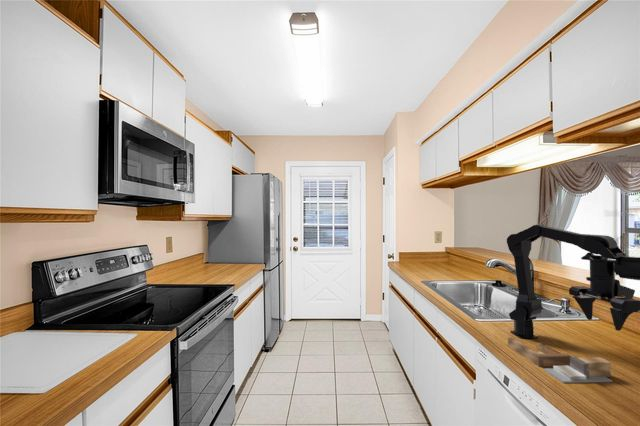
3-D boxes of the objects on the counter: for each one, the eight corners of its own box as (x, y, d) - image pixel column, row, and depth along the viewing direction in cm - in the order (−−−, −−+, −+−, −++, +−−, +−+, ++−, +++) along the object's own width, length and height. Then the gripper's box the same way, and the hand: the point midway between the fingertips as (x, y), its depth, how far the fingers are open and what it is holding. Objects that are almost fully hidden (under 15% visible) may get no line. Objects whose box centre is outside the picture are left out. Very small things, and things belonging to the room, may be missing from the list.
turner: (595, 368, 89) (595, 355, 89) (616, 379, 83) (615, 365, 83) (553, 369, 89) (553, 355, 89) (570, 380, 83) (570, 365, 83)
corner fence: (508, 345, 106) (507, 337, 106) (537, 345, 106) (536, 337, 106) (538, 366, 91) (538, 356, 91) (572, 365, 91) (572, 356, 91)
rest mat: (543, 369, 89) (543, 368, 89) (589, 369, 89) (589, 367, 89) (563, 382, 82) (563, 381, 82) (612, 381, 82) (612, 380, 82)
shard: (538, 346, 106) (538, 341, 106) (566, 352, 101) (566, 347, 101) (534, 356, 98) (534, 351, 98) (564, 364, 93) (564, 358, 93)
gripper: (661, 281, 84) (663, 336, 84) (598, 269, 103) (599, 314, 102) (623, 281, 84) (624, 336, 84) (567, 270, 102) (568, 315, 102)
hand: (603, 324), depth 93 cm, fingers open, 9 cm apart
